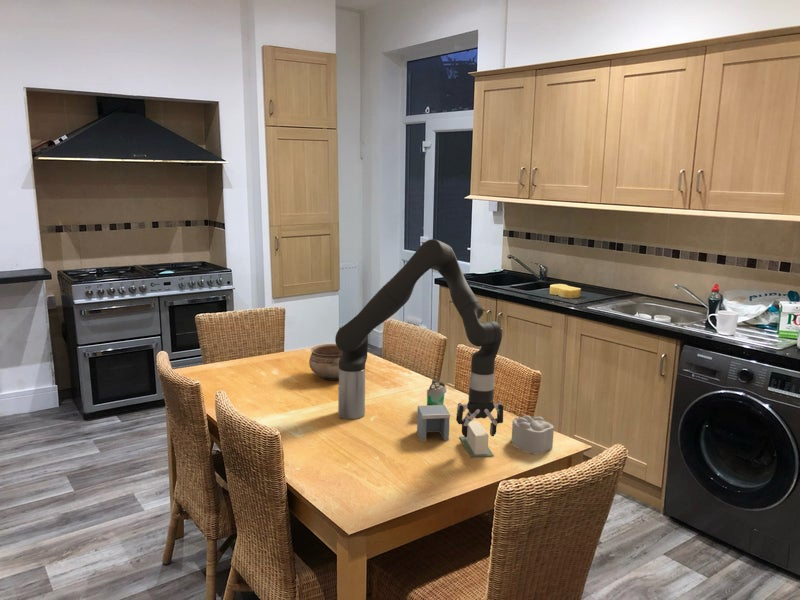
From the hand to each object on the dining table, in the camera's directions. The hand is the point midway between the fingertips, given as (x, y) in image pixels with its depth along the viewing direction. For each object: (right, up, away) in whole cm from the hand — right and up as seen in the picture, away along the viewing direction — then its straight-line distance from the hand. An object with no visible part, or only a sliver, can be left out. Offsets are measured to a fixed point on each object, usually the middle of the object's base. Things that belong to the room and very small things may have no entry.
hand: (478, 435), depth 197 cm
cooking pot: (-53, +9, +69) cm, 87 cm away
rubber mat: (0, -4, +5) cm, 6 cm away
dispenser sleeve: (-14, -3, +12) cm, 19 cm away
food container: (-11, +1, +34) cm, 35 cm away
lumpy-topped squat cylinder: (+17, -5, +7) cm, 19 cm away
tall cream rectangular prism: (0, -4, +4) cm, 6 cm away
